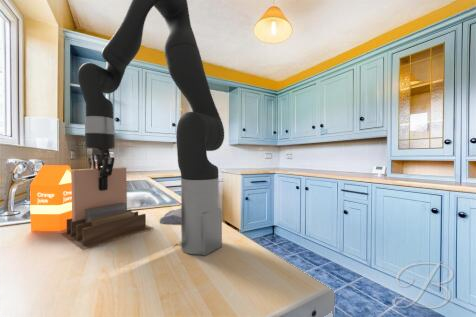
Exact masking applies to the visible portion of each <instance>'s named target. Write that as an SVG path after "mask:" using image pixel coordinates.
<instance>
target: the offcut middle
mask: <svg viewBox="0 0 476 317" xmlns="http://www.w3.org/2000/svg"><path fill="white" fill-rule="evenodd" d="M127 210H128V203H127V204H126V203H117V204H111V205H105V206H100V207H94V208H89V209H85V223H88V222H91V219H94V218H98V217H103V216H108V215H112V214H117V213H122V212H126V211H127Z"/></svg>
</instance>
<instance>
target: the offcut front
mask: <svg viewBox="0 0 476 317" xmlns="http://www.w3.org/2000/svg"><path fill="white" fill-rule="evenodd" d="M134 212H135V211H132V210H131V211H126V212H122V213H117V214H112V215H108V216H103V217H98V218H94V219H91V226H95V225H100V224H104V223H108V222H112V221H116V220H120V219H125V218H129V217H133V216H134Z"/></svg>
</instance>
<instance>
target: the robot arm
mask: <svg viewBox="0 0 476 317" xmlns="http://www.w3.org/2000/svg"><path fill="white" fill-rule="evenodd" d="M153 7H154V8H155V9H156V10H157V11H158V13H159V14H160V15H161V17H162V18H163V20H164V22H165V25H166V29H167V32H168V33H167V34H168V37H167V38H166V40H165V44H164V56H165V60H166V61H165V62H166V64H167V65H166V66H167V69H168V72H169V75H170V77H171V79H172V81H173V82H174V84H175V86H177V88H178V89H179V91H180V92H181V93H182V95H183V96H184V98H185V99H186V101H187V102H188V104H189V105H190V107H191V110H192V111H188V112H185V113H183V114H182V115H181V116H180V118H179V119H178V123H177V126H176V131H175V132H176V138H175V139H176V149H177V151H176V153H177V164H178V165H177V166H178V169H179V171H180V198H181V199H180V202H181V203H180V205H181V206H180V209H181V224H180V225H181V226H180V227H181V228H180V232H181V250H182V252H183V253H186V254H190V255H202V256H207V255H208V254H210V253H212V252H214V251H216V250H217V249H219V248H222V246H223V233H222V232H223V221H222V220H223V215H222V214H223V209H222V208H220V205H219V202H220V201H219V196H220V193H219V188H220V187H219V186H220V185H219V183H220V182H219V180H220V178H219V176H220V175H219V167H218V166H217V165H215V164H214V163H212V162H211V161H210V159H208V153H207V152H213V151H217V150H218V149H220V148H221V146H222V145H223V144H224V141H225V140H224V139H225V127H224V123H223V121H222V119H221V116H220V113H219V111H218V109H217V107H216V103H215V101H214V99H213V98H214V97H213V96H212V93H211V89H210V85H209V82H208V79H207V76H206V72H205V68H204V64H203V59H202V57H201V54H200V53H201V52H200V50H199V47H198V44H197V39H196V36H195V34H194V31H193V28H192V24H191V19H190V11H189V5H188V0H131V2H130V4H129V7H128V9H127V11H126V13H125V15H124V17H123V19H122V22H120V24H119V26H118V28H117V29H116V31H115V33H114V34H113V35H112V37H111V38H110V39H109V41H108V42H107V43H106V44H105V45H104V47H103V49H102V51H101V56H102V58H103V59H104V61H106V62H107V65H106V67H104V68H103V67H102V66H99V65H98V64H96V63H93V62H85V63H83V64H82V65H81V66H80V67H79V69H78V71H77V80H78V85H79V87H80V91H81V94H82V97H83V100H84V103H85V121H84V145H85V146H84V147H85V148H86V149H87V150H92V152H91V155H90V157H88V158H87V161H88V166H89V169H96V170H98V177H99V190H101V191H102V190H107V189H108V178H107V177H109V176H111V174H112V169H113V168H114V164H115V157H113V156H112V157H111V154H110V150H113V149H115V145H116V142H115V141H116V139H115V137H116V136H115V123H114V105H113V104H114V103H113V101H111V100H110V99H108V98H107V97H105V95H104V94H107V95H109V94H112V93H114V92H116V91H117V90H118V89H119V87H120V85H121V83H122V80H123V79H124V78H123V77H124V74H125V71H126V69H127V67H128V66H129V64H130V63H131V62H132V61H133V60H134V58H135V57H136V56H137V54H138V52H139V50H140V49H141V46H142V41H143V33H144V28H145V22H146V19H147V17H148V14H149V13H150V11H151V10H152V8H153Z"/></svg>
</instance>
